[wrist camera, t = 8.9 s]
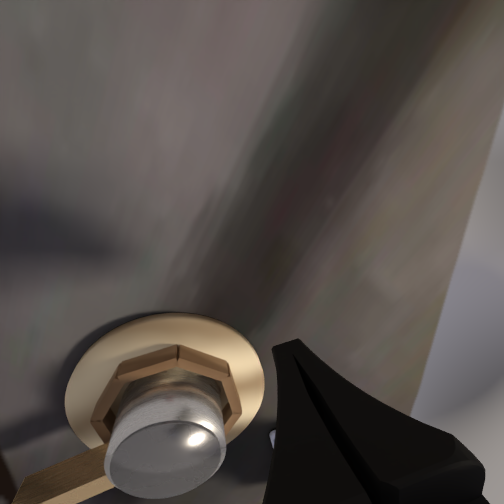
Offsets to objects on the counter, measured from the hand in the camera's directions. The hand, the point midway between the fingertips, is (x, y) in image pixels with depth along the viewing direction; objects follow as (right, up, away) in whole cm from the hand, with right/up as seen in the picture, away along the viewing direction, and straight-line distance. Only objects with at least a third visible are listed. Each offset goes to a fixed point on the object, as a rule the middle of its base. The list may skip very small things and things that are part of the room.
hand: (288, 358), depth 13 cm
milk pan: (-12, -9, +10) cm, 18 cm away
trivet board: (-9, -7, +11) cm, 16 cm away
